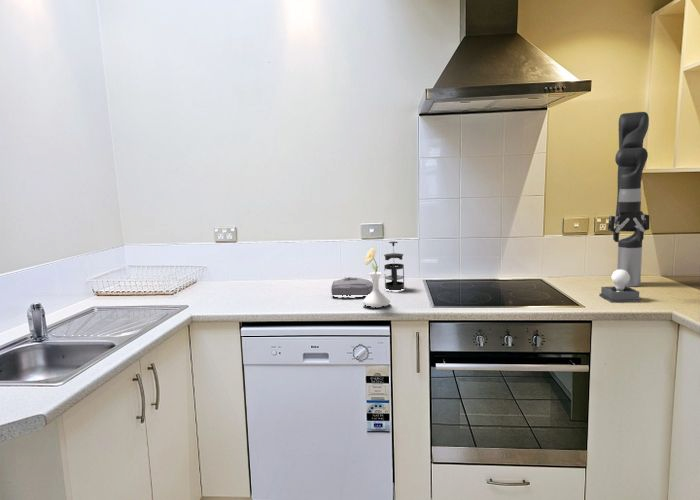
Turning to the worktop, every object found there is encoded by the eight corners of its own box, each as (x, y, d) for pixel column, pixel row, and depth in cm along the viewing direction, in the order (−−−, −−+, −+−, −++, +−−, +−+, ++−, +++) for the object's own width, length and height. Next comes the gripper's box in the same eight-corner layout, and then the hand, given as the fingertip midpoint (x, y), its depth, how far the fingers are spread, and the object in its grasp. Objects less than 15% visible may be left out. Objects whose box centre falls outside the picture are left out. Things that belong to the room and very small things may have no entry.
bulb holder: (599, 295, 194) (599, 286, 194) (627, 295, 193) (627, 286, 192) (611, 302, 183) (611, 292, 183) (641, 302, 182) (641, 292, 182)
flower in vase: (363, 302, 199) (361, 244, 196) (390, 302, 198) (388, 243, 195) (361, 311, 187) (358, 248, 183) (389, 310, 185) (387, 247, 182)
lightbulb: (631, 298, 184) (632, 270, 183) (613, 298, 186) (615, 270, 184) (625, 294, 191) (626, 268, 189) (608, 294, 192) (609, 267, 190)
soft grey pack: (329, 300, 208) (375, 299, 206) (328, 281, 207) (374, 280, 205) (334, 292, 223) (376, 291, 221) (333, 275, 221) (375, 274, 219)
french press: (406, 292, 215) (404, 242, 212) (385, 293, 215) (383, 243, 212) (403, 287, 227) (402, 239, 224) (383, 287, 227) (382, 240, 224)
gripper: (644, 198, 186) (642, 239, 189) (606, 200, 188) (605, 240, 190) (654, 200, 179) (652, 242, 181) (614, 201, 181) (612, 243, 183)
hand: (628, 241), depth 186 cm, fingers open, 8 cm apart
